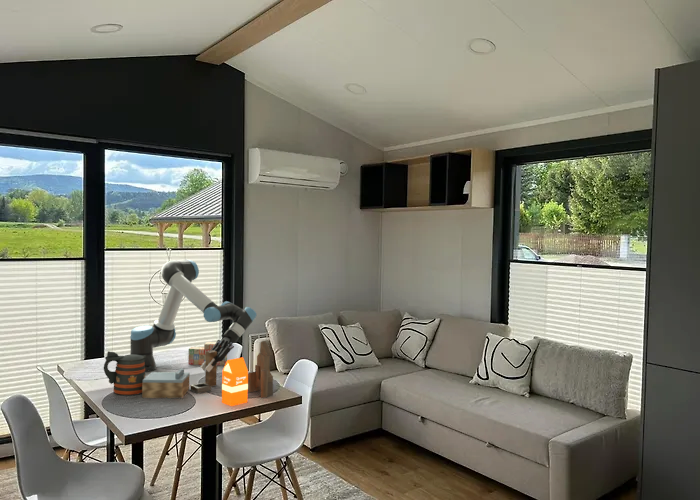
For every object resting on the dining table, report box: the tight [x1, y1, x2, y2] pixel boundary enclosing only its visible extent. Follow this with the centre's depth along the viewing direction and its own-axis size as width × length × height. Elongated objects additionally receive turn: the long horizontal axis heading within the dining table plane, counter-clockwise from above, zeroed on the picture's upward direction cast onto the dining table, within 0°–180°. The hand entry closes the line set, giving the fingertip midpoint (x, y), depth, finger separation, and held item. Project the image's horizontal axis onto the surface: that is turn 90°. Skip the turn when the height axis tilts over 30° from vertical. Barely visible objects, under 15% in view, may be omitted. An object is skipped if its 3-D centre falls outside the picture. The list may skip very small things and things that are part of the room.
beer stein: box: [103, 350, 146, 396], centre depth 255 cm, size 19×15×20 cm
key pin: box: [204, 350, 218, 387], centre depth 270 cm, size 4×4×17 cm
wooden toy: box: [248, 340, 274, 399], centre depth 258 cm, size 15×7×25 cm, turn 42°
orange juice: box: [221, 357, 249, 407], centre depth 243 cm, size 8×9×20 cm
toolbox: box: [141, 375, 190, 399], centre depth 254 cm, size 18×14×7 cm
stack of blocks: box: [187, 341, 228, 366], centre depth 314 cm, size 21×6×12 cm, turn 91°
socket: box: [189, 382, 212, 394], centre depth 260 cm, size 7×7×2 cm
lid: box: [143, 367, 191, 383], centre depth 254 cm, size 18×14×4 cm
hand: (204, 369), depth 267 cm, fingers closed on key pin, 4 cm apart
